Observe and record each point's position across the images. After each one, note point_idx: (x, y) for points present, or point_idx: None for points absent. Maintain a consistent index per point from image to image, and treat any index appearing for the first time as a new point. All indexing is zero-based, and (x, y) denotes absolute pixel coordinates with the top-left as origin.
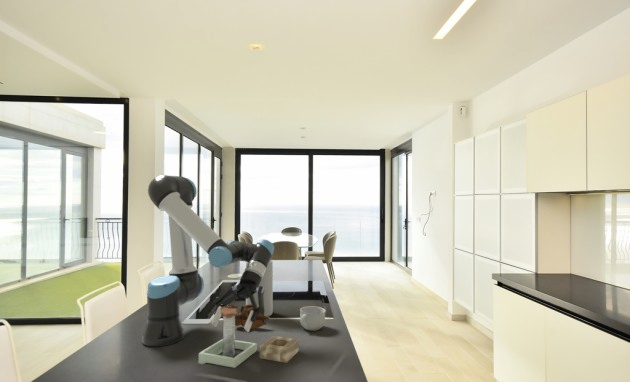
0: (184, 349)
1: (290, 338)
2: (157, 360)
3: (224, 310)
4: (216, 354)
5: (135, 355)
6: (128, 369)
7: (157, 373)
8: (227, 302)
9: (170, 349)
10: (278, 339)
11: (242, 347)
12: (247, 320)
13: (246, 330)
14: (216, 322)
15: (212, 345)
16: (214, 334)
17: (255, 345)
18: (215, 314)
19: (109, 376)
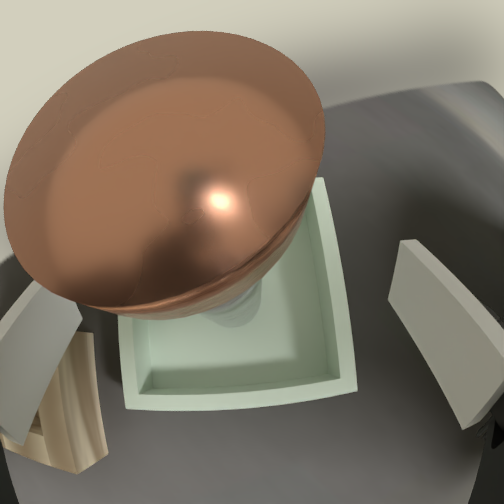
0: (459, 278)
1: (9, 446)
2: (444, 172)
3: (157, 37)
4: (304, 290)
5: (501, 180)
6: (439, 114)
7: (365, 112)
8: (492, 495)
9: (486, 253)
10: (36, 433)
11: (211, 389)
12: (21, 306)
13: (69, 300)
14: (404, 300)
15: (338, 278)
16: (459, 451)
17: (126, 393)
18: (459, 288)
19: (429, 86)
